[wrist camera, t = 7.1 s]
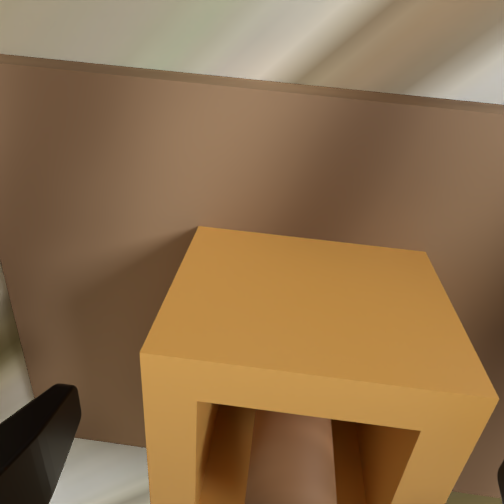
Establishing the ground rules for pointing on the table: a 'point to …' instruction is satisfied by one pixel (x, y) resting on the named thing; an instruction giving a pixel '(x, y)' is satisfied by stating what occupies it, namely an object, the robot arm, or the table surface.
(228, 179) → the peg board
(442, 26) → the table surface
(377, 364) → the orange square block
